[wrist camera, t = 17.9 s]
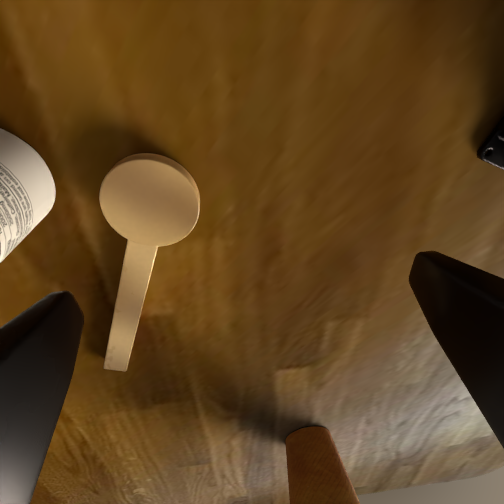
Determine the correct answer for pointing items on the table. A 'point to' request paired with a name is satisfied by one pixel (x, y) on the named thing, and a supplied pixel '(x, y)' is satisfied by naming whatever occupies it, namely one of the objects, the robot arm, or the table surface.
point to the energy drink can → (21, 191)
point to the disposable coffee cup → (316, 469)
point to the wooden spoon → (143, 233)
